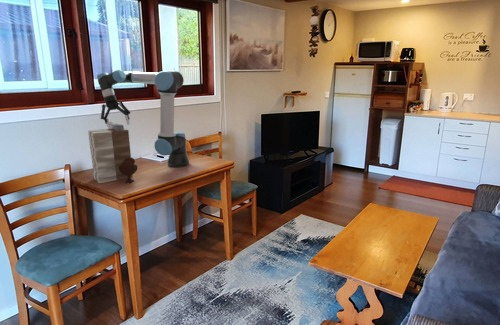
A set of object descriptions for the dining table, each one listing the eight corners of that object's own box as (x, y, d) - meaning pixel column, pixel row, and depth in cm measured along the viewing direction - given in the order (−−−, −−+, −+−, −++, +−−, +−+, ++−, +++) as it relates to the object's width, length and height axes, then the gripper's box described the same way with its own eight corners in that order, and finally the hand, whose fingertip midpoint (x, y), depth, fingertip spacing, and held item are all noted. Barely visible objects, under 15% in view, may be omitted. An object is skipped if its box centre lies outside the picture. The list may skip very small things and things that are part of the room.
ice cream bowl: (122, 179, 211) (119, 155, 207) (140, 178, 212) (138, 155, 208) (117, 184, 201) (114, 160, 197) (136, 184, 202) (134, 159, 198)
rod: (105, 127, 219) (105, 122, 218) (113, 126, 222) (113, 121, 221) (115, 131, 204) (114, 126, 203) (123, 130, 207) (123, 125, 206)
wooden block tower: (94, 178, 213) (88, 130, 205) (126, 172, 225) (121, 127, 217) (99, 183, 204) (93, 133, 196) (132, 177, 216) (128, 129, 208)
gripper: (124, 95, 243) (134, 124, 245) (89, 100, 226) (99, 131, 228) (128, 92, 238) (138, 121, 239) (92, 97, 221) (103, 128, 222)
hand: (119, 126), depth 233 cm, fingers open, 13 cm apart
